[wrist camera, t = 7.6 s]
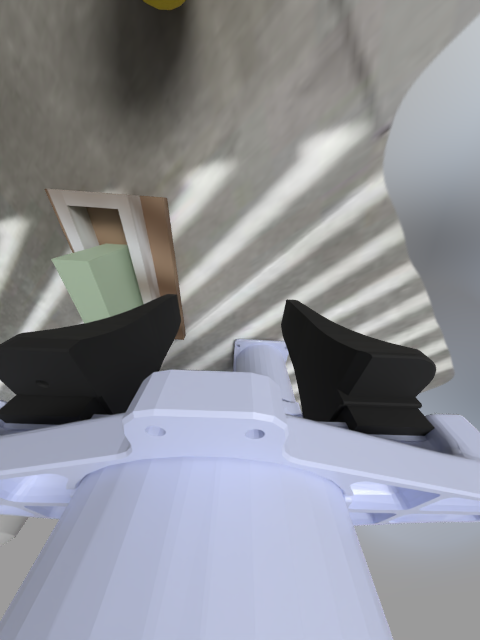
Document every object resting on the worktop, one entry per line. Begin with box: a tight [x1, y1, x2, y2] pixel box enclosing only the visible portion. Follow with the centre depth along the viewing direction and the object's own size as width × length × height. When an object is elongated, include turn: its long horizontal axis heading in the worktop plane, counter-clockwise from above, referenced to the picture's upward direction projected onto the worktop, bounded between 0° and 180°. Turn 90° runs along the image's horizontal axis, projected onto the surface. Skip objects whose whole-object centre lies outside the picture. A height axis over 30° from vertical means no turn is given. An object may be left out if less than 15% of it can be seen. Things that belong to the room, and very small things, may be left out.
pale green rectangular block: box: [52, 244, 143, 323], centre depth 17 cm, size 8×2×6 cm, turn 176°
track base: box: [45, 189, 186, 340], centre depth 19 cm, size 16×10×3 cm, turn 177°
